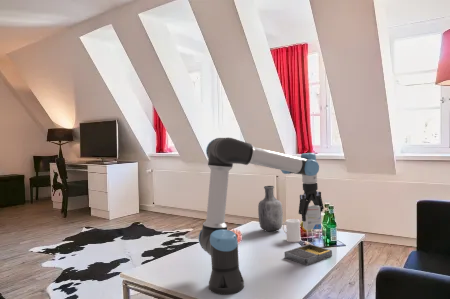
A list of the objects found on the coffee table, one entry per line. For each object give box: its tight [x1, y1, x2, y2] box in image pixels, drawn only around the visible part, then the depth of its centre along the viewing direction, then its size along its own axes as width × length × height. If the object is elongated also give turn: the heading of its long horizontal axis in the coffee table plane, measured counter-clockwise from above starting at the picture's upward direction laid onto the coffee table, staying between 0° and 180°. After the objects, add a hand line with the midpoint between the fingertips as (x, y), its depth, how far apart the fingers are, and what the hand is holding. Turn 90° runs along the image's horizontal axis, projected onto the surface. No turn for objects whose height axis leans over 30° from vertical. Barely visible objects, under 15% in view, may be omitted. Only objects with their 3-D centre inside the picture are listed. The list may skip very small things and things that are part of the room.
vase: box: [257, 185, 284, 233], centre depth 230 cm, size 16×16×30 cm
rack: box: [284, 243, 333, 266], centre depth 178 cm, size 19×15×3 cm
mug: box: [282, 218, 302, 243], centre depth 209 cm, size 12×8×12 cm
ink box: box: [303, 204, 322, 231], centre depth 180 cm, size 9×5×12 cm, turn 84°
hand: (312, 225), depth 180 cm, fingers closed on ink box, 9 cm apart
